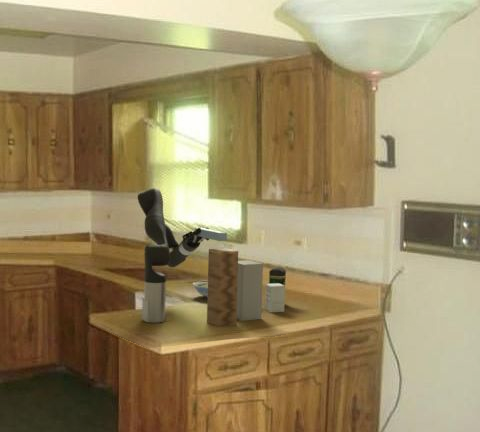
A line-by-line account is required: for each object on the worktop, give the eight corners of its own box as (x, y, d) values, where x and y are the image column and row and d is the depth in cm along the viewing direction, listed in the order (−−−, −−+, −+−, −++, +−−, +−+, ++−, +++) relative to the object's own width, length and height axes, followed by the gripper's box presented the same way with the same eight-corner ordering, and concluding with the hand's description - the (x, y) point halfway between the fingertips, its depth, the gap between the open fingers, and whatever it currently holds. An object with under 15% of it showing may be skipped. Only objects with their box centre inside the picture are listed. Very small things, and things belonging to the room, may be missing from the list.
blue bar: (219, 241, 314) (219, 233, 314) (194, 235, 335) (194, 227, 335) (226, 240, 316) (226, 232, 316) (201, 235, 337) (201, 227, 337)
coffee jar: (282, 307, 357) (283, 269, 356) (266, 306, 359) (267, 268, 358) (286, 303, 367) (287, 266, 365) (270, 302, 369) (271, 265, 367)
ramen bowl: (199, 303, 361) (200, 286, 361) (184, 295, 382) (184, 279, 381) (245, 300, 372) (246, 284, 371) (228, 293, 392) (228, 277, 392)
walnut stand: (217, 326, 311) (219, 251, 309) (206, 321, 320) (208, 249, 317) (236, 324, 316) (238, 251, 313) (224, 320, 324) (226, 248, 322)
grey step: (242, 320, 324) (243, 264, 322) (228, 315, 334) (230, 261, 332) (261, 318, 329) (263, 263, 327) (247, 313, 339) (249, 260, 338)
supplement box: (278, 309, 353) (279, 283, 352) (284, 312, 346) (285, 285, 345) (264, 309, 350) (265, 283, 349) (269, 312, 343) (270, 286, 342)
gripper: (173, 237, 342) (188, 222, 328) (200, 237, 349) (216, 221, 335) (177, 252, 339) (191, 237, 326) (204, 251, 346) (219, 236, 333)
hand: (204, 229), depth 331 cm, fingers closed on blue bar, 3 cm apart
